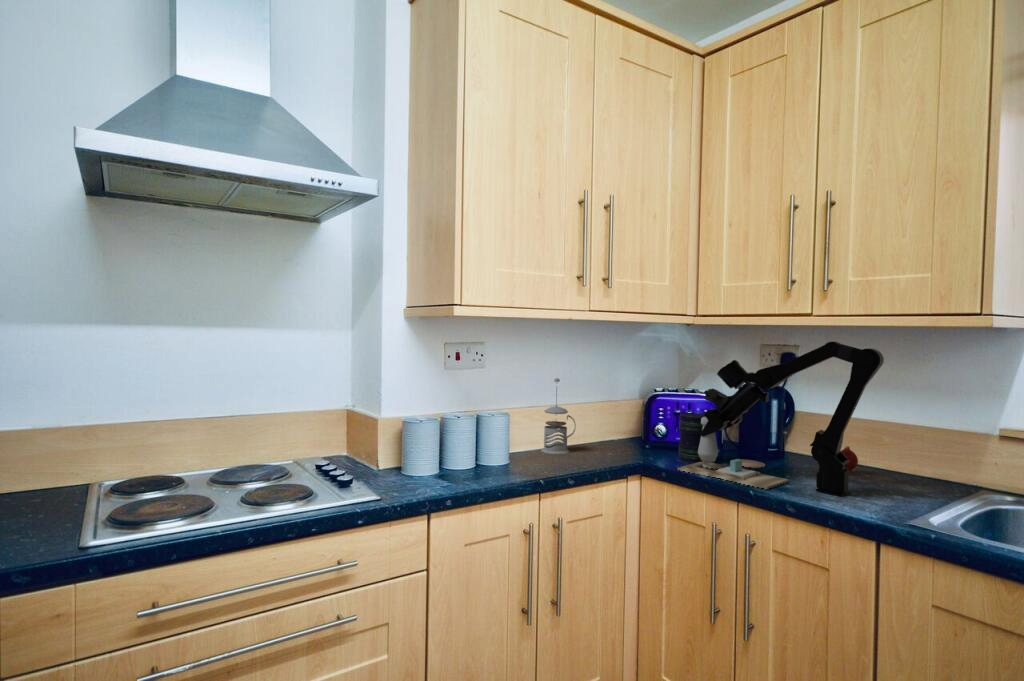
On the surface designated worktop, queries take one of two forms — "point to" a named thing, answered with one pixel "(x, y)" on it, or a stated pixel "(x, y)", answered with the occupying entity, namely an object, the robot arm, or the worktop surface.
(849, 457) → the onion
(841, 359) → the robot arm
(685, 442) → the storage jar
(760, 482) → the board
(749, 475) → the cover
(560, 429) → the french press
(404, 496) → the worktop surface
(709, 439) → the salt shaker
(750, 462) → the pad
